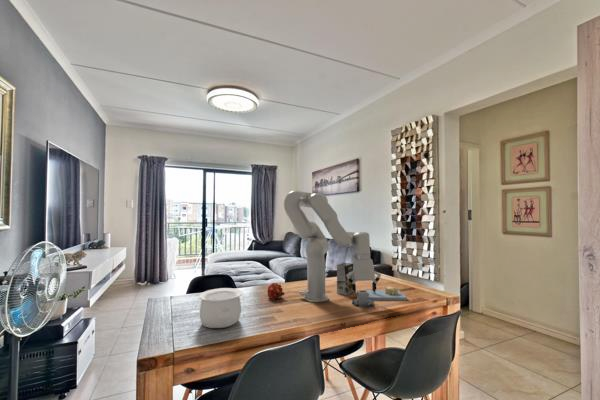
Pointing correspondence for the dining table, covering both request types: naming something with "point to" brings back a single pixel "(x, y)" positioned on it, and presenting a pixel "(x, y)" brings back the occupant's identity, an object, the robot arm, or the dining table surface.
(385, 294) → the carrier
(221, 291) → the pot
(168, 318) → the dining table surface
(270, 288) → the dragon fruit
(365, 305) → the gear
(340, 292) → the coffee box
